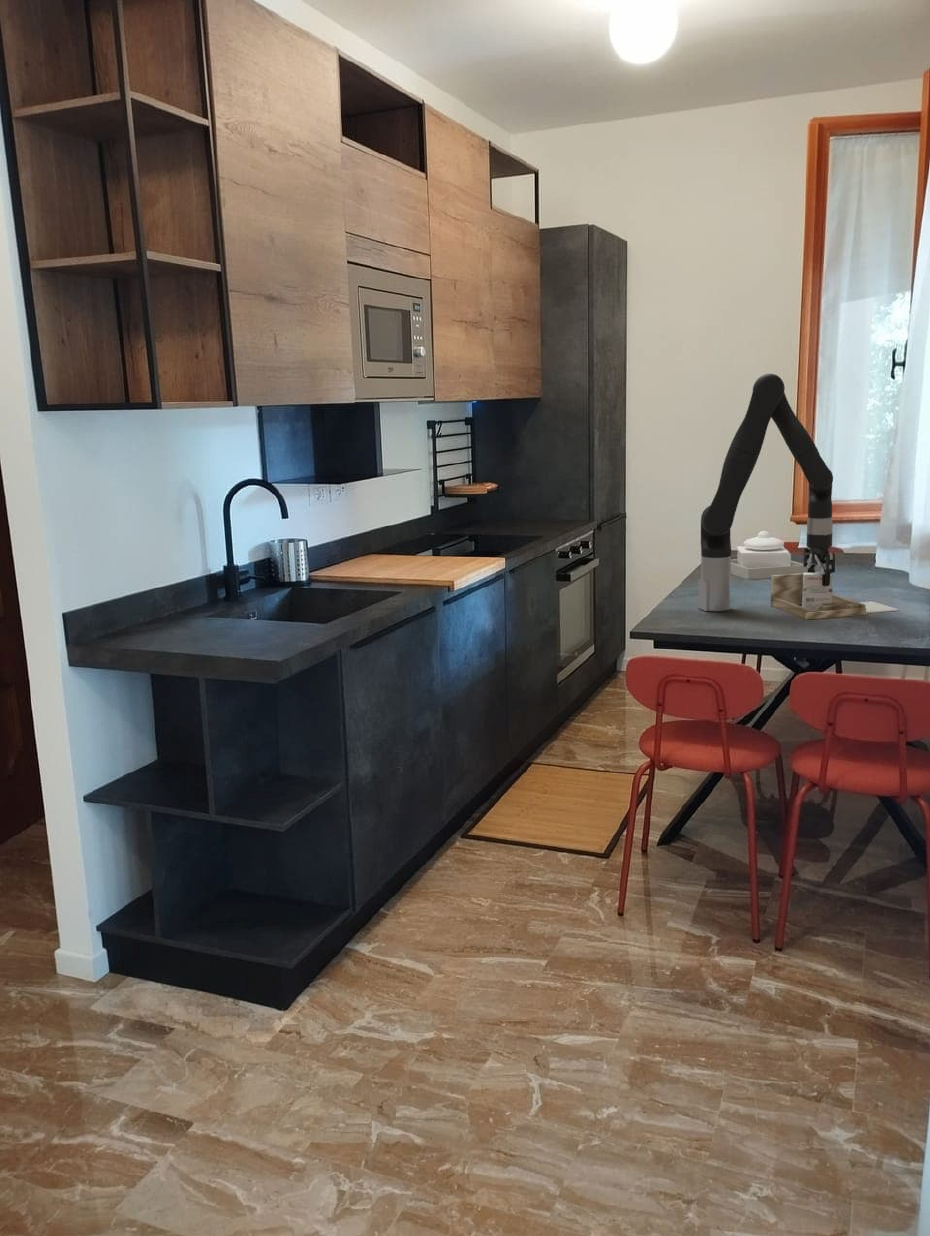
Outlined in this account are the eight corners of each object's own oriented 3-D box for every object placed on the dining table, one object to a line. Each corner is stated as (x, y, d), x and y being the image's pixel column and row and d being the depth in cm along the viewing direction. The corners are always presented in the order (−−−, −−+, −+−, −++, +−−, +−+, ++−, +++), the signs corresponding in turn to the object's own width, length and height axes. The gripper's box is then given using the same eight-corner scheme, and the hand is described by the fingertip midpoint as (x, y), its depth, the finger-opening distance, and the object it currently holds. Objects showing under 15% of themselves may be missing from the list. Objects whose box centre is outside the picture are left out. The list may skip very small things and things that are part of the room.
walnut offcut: (824, 612, 304) (824, 607, 304) (819, 610, 306) (819, 605, 306) (844, 609, 306) (844, 605, 306) (839, 608, 308) (839, 603, 308)
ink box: (830, 608, 316) (831, 571, 314) (831, 612, 311) (833, 574, 309) (801, 608, 318) (802, 571, 316) (802, 611, 313) (804, 574, 311)
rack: (805, 619, 302) (807, 586, 300) (770, 606, 323) (771, 575, 321) (865, 614, 306) (867, 582, 304) (827, 601, 327) (828, 571, 325)
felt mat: (863, 613, 307) (863, 612, 307) (838, 605, 320) (838, 604, 320) (899, 610, 309) (899, 609, 309) (872, 602, 323) (872, 601, 322)
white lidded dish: (790, 576, 373) (791, 533, 370) (740, 576, 376) (741, 534, 373) (783, 568, 390) (784, 527, 387) (735, 568, 393) (736, 528, 390)
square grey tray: (748, 579, 370) (748, 569, 369) (720, 570, 392) (720, 560, 391) (806, 575, 374) (806, 564, 373) (775, 566, 396) (775, 556, 396)
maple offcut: (849, 615, 306) (850, 605, 306) (845, 613, 309) (846, 604, 308) (858, 614, 307) (859, 604, 306) (854, 612, 309) (855, 603, 308)
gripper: (796, 530, 316) (795, 581, 319) (821, 535, 302) (819, 588, 305) (818, 528, 317) (817, 579, 320) (843, 533, 303) (842, 586, 307)
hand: (818, 583), depth 313 cm, fingers open, 8 cm apart
